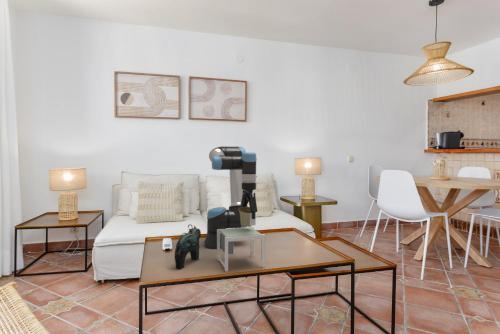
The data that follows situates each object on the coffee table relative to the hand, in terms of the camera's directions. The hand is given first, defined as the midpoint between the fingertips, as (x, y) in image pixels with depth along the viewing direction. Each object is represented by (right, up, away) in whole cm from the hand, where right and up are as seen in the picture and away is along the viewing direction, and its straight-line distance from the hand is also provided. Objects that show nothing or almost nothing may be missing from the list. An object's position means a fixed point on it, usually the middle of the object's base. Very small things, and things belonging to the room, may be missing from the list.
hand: (248, 222), depth 165 cm
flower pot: (-1, -2, +3) cm, 4 cm away
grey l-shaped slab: (-4, -14, -1) cm, 15 cm away
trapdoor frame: (-4, -21, -1) cm, 22 cm away
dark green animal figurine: (-31, -21, -1) cm, 38 cm away
